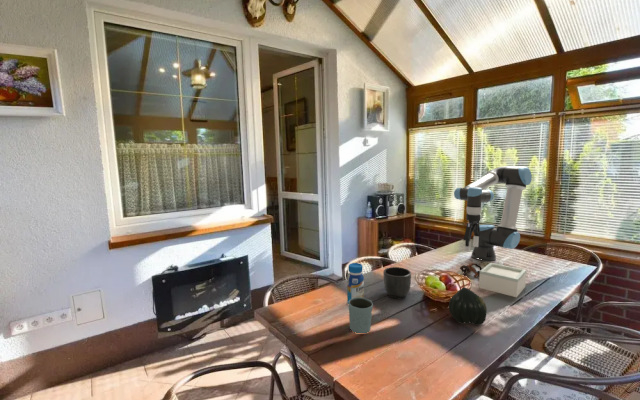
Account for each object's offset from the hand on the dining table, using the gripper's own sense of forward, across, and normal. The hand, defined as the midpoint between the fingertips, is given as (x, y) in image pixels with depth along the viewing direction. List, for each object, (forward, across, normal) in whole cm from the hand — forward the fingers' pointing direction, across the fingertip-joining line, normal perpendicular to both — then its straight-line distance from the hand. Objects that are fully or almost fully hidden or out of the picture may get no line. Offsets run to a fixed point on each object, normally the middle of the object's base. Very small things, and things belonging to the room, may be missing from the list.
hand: (471, 249), depth 190 cm
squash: (+17, +56, +18) cm, 61 cm away
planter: (+17, +54, -18) cm, 59 cm away
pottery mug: (+16, -1, 0) cm, 17 cm away
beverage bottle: (+17, +76, -28) cm, 82 cm away
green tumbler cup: (+17, +93, -12) cm, 95 cm away
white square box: (+16, +7, +19) cm, 26 cm away
